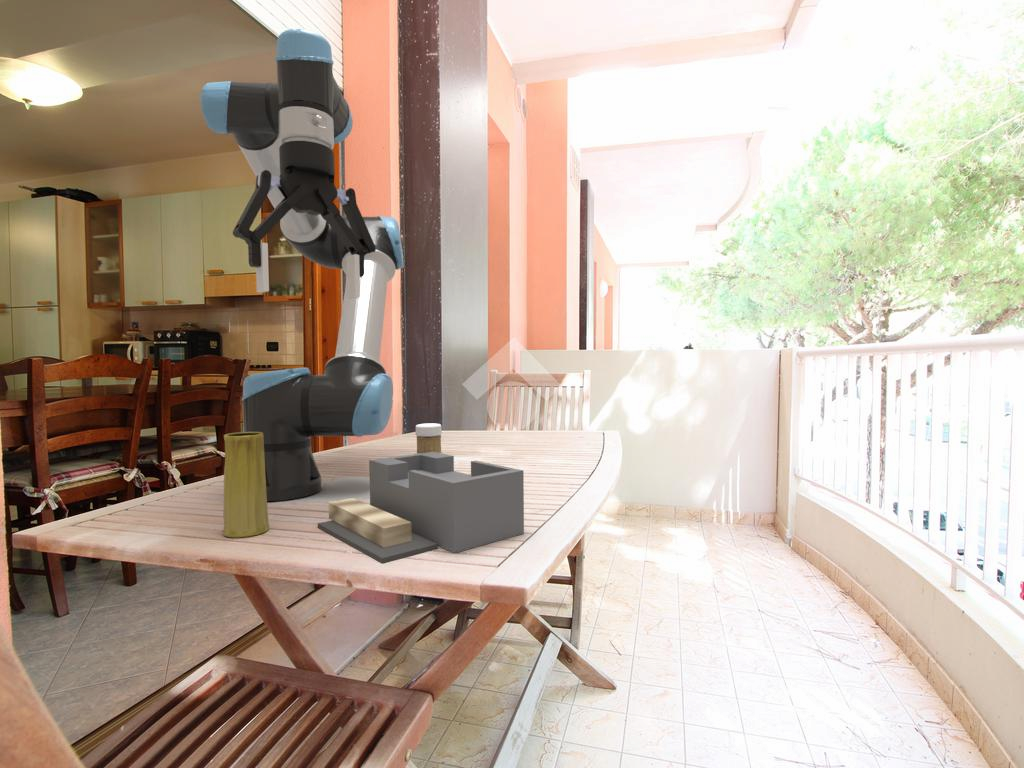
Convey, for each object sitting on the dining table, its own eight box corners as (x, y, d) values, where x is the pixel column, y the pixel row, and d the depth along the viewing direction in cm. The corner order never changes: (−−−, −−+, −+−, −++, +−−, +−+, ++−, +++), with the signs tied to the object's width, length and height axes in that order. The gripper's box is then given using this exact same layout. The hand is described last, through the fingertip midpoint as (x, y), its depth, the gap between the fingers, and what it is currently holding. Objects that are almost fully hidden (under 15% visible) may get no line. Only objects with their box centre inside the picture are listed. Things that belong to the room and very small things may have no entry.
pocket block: (370, 516, 88) (369, 460, 88) (434, 503, 96) (433, 451, 96) (454, 553, 71) (453, 483, 71) (523, 533, 79) (523, 470, 78)
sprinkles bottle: (434, 495, 102) (432, 422, 102) (447, 499, 99) (446, 424, 98) (411, 499, 99) (410, 424, 99) (425, 504, 96) (423, 426, 95)
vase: (257, 523, 85) (255, 430, 85) (277, 530, 81) (274, 433, 81) (215, 532, 81) (212, 434, 80) (234, 541, 77) (231, 437, 76)
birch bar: (328, 518, 85) (328, 502, 85) (353, 513, 88) (353, 497, 88) (384, 547, 72) (383, 528, 71) (411, 540, 74) (411, 522, 74)
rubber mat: (317, 527, 83) (317, 523, 83) (367, 517, 88) (367, 513, 88) (382, 563, 68) (382, 558, 68) (437, 548, 73) (437, 543, 73)
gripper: (220, 114, 70) (226, 285, 71) (396, 160, 87) (398, 298, 88) (204, 132, 75) (210, 291, 76) (372, 172, 92) (374, 302, 93)
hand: (310, 295), depth 82 cm, fingers open, 13 cm apart
